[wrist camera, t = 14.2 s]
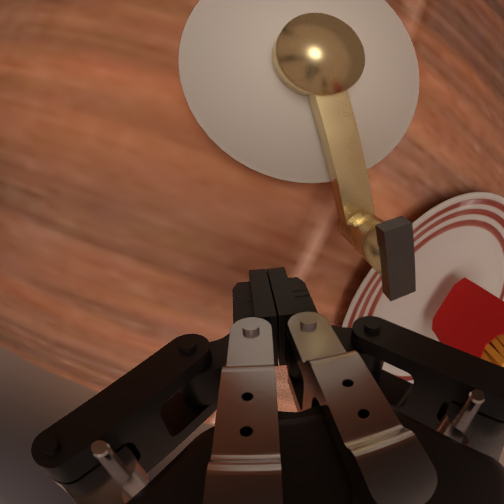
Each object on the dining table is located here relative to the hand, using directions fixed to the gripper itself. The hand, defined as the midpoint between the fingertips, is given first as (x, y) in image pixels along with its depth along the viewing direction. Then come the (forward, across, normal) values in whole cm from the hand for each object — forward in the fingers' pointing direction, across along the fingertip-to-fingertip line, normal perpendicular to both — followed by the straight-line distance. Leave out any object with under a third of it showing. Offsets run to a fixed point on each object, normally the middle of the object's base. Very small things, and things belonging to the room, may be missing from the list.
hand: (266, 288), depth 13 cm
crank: (+7, -5, -6) cm, 11 cm away
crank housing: (+11, -4, -11) cm, 16 cm away
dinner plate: (+12, -21, +12) cm, 27 cm away
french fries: (+9, -20, +10) cm, 24 cm away
